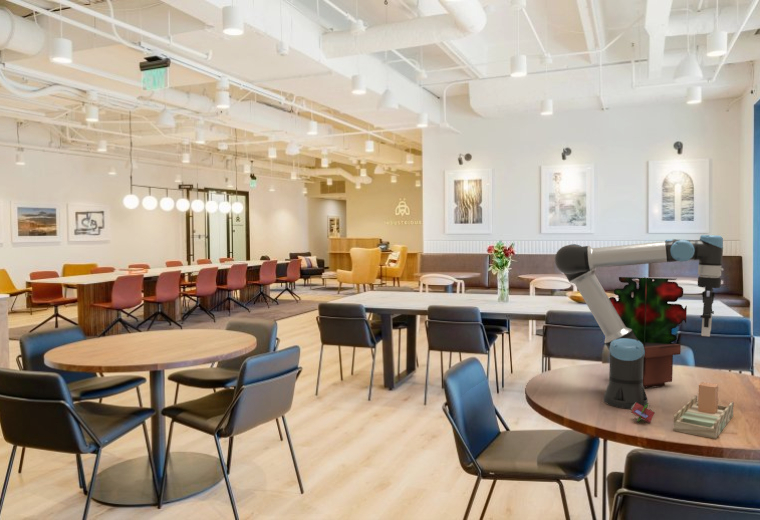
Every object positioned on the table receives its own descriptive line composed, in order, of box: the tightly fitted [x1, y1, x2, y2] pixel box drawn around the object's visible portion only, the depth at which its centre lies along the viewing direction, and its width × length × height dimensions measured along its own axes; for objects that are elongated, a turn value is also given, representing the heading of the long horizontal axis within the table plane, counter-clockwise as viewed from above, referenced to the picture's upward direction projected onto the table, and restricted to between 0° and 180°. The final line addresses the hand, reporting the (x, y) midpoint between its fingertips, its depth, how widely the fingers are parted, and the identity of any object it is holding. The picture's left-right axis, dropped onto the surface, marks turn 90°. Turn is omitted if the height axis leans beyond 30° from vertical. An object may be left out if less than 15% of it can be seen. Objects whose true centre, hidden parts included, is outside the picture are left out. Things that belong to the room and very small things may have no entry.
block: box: [697, 381, 719, 414], centre depth 199 cm, size 5×5×9 cm
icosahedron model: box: [630, 402, 656, 424], centre depth 196 cm, size 7×7×8 cm
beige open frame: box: [672, 395, 734, 440], centre depth 195 cm, size 30×12×5 cm, turn 140°
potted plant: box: [608, 276, 688, 389], centre depth 245 cm, size 22×22×45 cm
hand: (706, 333), depth 217 cm, fingers open, 13 cm apart
